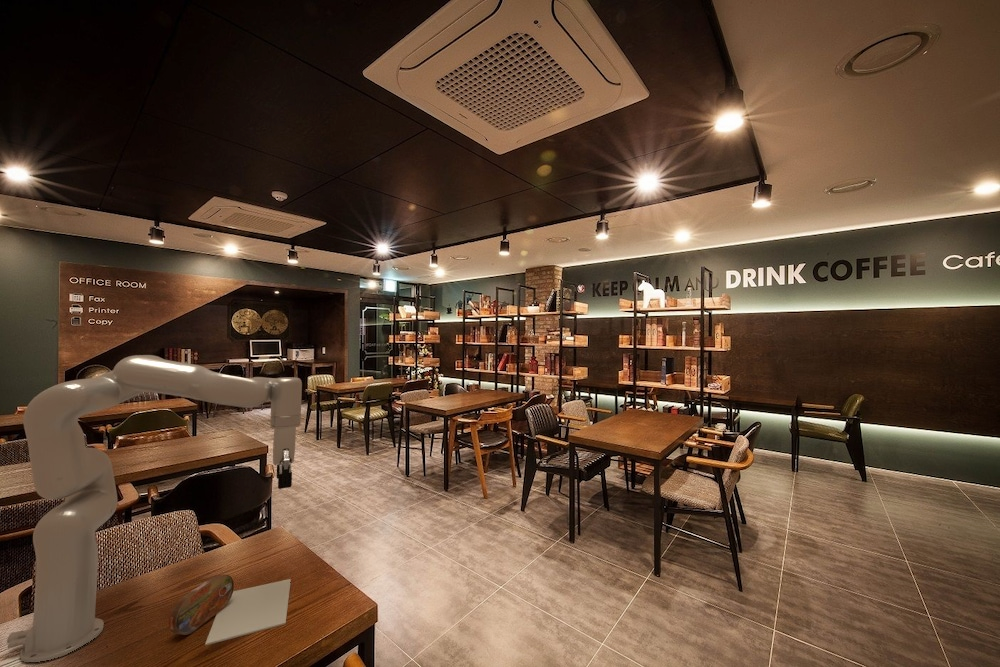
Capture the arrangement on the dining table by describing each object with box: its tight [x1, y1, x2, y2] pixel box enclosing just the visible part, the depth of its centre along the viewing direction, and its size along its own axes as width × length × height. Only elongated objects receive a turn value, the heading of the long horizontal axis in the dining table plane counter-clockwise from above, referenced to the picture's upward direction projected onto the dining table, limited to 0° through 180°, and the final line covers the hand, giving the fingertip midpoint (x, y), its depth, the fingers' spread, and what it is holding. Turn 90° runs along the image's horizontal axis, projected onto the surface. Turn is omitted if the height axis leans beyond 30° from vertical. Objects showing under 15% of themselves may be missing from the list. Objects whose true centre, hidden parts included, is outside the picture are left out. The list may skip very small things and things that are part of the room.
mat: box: [205, 578, 292, 646], centre depth 99 cm, size 16×20×1 cm
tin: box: [168, 574, 235, 636], centre depth 95 cm, size 15×3×8 cm, turn 168°
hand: (283, 482), depth 107 cm, fingers open, 9 cm apart
